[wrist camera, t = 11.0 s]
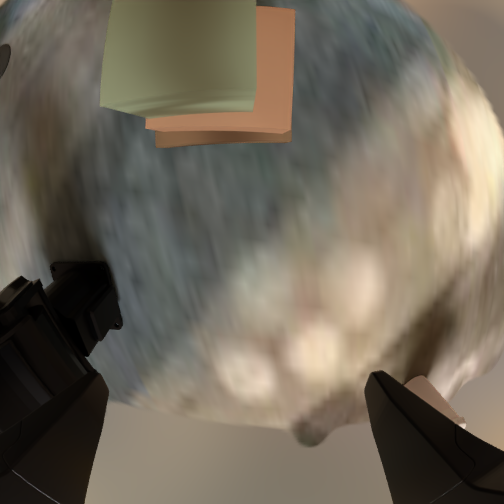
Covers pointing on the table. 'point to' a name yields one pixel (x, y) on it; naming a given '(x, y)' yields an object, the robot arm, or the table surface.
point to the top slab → (268, 84)
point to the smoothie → (433, 398)
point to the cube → (180, 57)
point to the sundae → (4, 58)
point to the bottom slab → (217, 138)
